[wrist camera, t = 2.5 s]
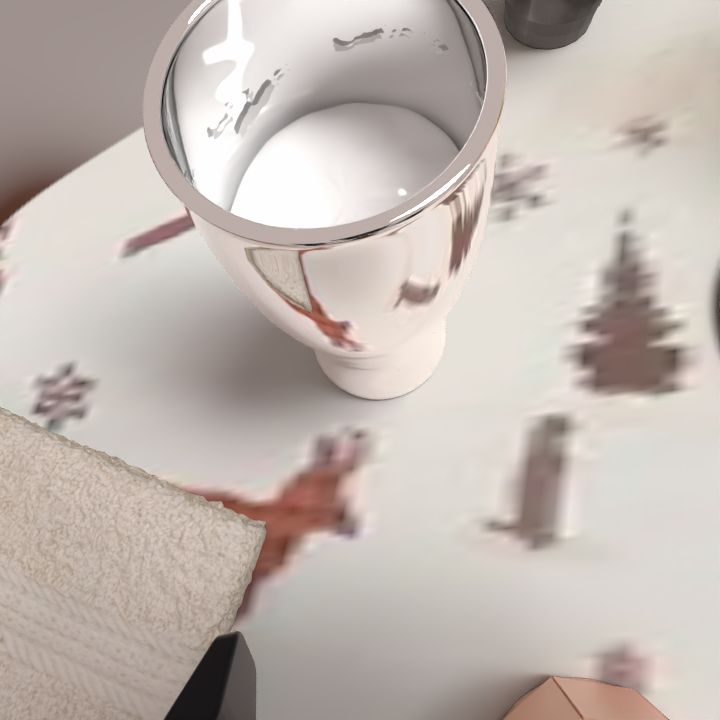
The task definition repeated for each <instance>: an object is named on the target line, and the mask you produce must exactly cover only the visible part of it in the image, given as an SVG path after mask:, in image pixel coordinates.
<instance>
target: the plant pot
mask: <svg viewBox="0 0 720 720" xmlns="http://www.w3.org/2000/svg"><path fill="white" fill-rule="evenodd" d="M503 720H669V719H668V718H667V717H666V716H664V715H663V714H662V713H661V712H660V711H659V710H658V709H657V708H655V707H654V706H653V705H652V704H651V703H650V702H649V701H648V700H646V699H645V698H644V697H643V696H642V695H641V694H640V693H639V692H637V691H635V690H634V689H631V688H625V687H618V686H613V685H610V684H607V683H605V682H602V681H597V680H593V679H587V678H561V677H555V676H553V679H552V678H551V677H550V678H549V679H548V680H547V681H546V682H544V683H543V684H542V685H540V686H538V687H536V688H534V689H532V690H531V691H529V692H528V693H526V694H525V695H524V696H523V697H521V698H520V699H519V700H518V701H517V702H516V703H515V704H514V705H513V706H512V707H511V709H510V710H509V712H508V713H507V714H506V716H505V717H504V719H503Z"/></svg>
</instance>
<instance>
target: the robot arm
mask: <svg viewBox="0 0 720 720" xmlns="http://www.w3.org/2000/svg"><path fill="white" fill-rule="evenodd" d="M163 720H256V669H255V664H254V660H253V658H252V655H251V653H250V651H249V648H248V646H247V644H246V641H245V639H244V637H243V635H242V634H241V633H240V632H232V633H227V634H222V635H219V636H217V637H216V638H215V639H214V640H213V642H212V643H211V645H210V646H209V648H208V650H207V651H206V653H205V654H204V656H203V657H202V659H201V661H200V662H199V664H198V665H197V667H196V669H195V670H194V672H193V673H192V675H191V677H190V678H189V680H188V681H187V683H186V684H185V686H184V688H183V689H182V691H181V692H180V694H179V696H178V697H177V699H176V700H175V702H174V703H173V705H172V707H171V708H170V710H169V711H168V713H167V715H166V716H165V718H164V719H163Z"/></svg>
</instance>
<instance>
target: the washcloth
mask: <svg viewBox="0 0 720 720" xmlns="http://www.w3.org/2000/svg"><path fill="white" fill-rule="evenodd" d="M223 506H224V505H223V504H222V502H221V501H218V502H215V501H211V502H208V501H207V500H206V499H205V498H204V497H203V496H199V495H193V494H191V493H189V492H186V491H183V490H181V489H179V488H176V487H174V486H172V485H171V484H170V483H168V482H167V481H165V480H158V479H157V477H156V476H155V475H150V474H148V473H146V472H145V471H144V470H142V469H140V468H136V467H133V466H131V465H127V464H126V463H125V462H124V461H123V460H121V459H119V458H117V457H110V456H108V455H107V454H106V453H105V452H101V451H96V450H94V449H91V448H88V447H87V446H80V445H79V444H77V443H76V442H75V441H74V440H73V441H71V440H68V439H67V438H65V437H64V436H62V435H58V434H54V433H51V432H49V431H47V430H46V429H44V428H42V427H40V426H38V425H37V424H36V423H30V422H29V421H28V420H27V419H25V418H24V417H23V416H22V417H20V416H18V415H16V414H12V413H11V412H10V411H9V410H5V409H4V408H0V720H163V719H164V718H165V716H166V715H167V713H168V711H169V710H170V708H171V707H172V705H173V703H174V702H175V700H176V699H177V697H178V696H179V694H180V692H181V691H182V689H183V688H184V686H185V684H186V683H187V681H188V680H189V678H190V677H191V675H192V673H193V672H194V670H195V669H196V667H197V665H198V664H199V662H200V661H201V659H202V657H203V656H204V654H205V653H206V651H207V650H208V648H209V646H210V645H211V643H212V642H213V640H214V639H215V638H216V637H217V636H219V635H222V634H227V633H229V632H230V630H231V627H232V626H233V623H234V621H235V617H236V613H237V610H238V608H239V607H240V606H241V604H242V600H243V596H244V593H245V590H246V588H247V586H248V584H249V583H250V582H251V581H252V571H253V570H254V569H255V566H256V562H257V560H258V558H259V554H260V551H261V548H262V545H263V542H264V541H265V536H266V530H265V524H266V522H264V521H259V520H252V519H249V518H248V517H247V516H245V515H243V514H237V513H236V512H234V511H233V510H231V509H227V508H225V507H224V508H223Z"/></svg>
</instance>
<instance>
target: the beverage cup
mask: <svg viewBox="0 0 720 720" xmlns="http://www.w3.org/2000/svg"><path fill="white" fill-rule="evenodd" d="M601 2H602V0H505V13H504V21H505V24H506V28H507V30H508V31H509V32H510V34H511V35H512V36H513V37H514V38H515V39H517V40H518V41H520V42H521V43H523V44H524V45H528V46H531V47H534V48H540V49H553V48H558V47H563V46H566V45H568V44H570V43H572V42H574V41H576V40H578V39H579V38H580V37H581V36H582V35H583V34H584V33H585V32H586V30H587V29H588V27H589V25H590V23H591V20H592V18H593V15H594V13H595V11H596V10H597V8H598V6H600V4H601Z"/></svg>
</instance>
